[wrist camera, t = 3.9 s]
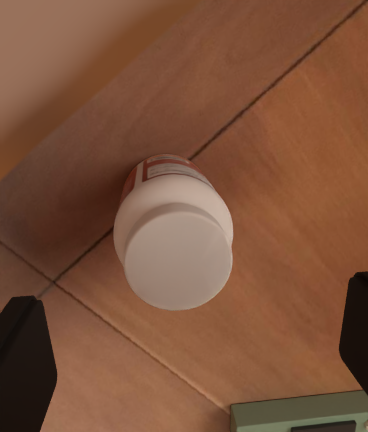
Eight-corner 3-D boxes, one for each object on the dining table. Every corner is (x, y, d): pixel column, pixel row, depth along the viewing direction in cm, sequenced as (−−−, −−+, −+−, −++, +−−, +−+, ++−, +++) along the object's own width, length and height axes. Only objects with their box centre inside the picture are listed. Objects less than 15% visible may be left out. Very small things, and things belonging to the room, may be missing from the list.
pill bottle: (158, 249, 26) (164, 350, 15) (105, 187, 24) (71, 256, 13) (224, 201, 25) (277, 274, 15) (175, 134, 23) (195, 163, 13)
